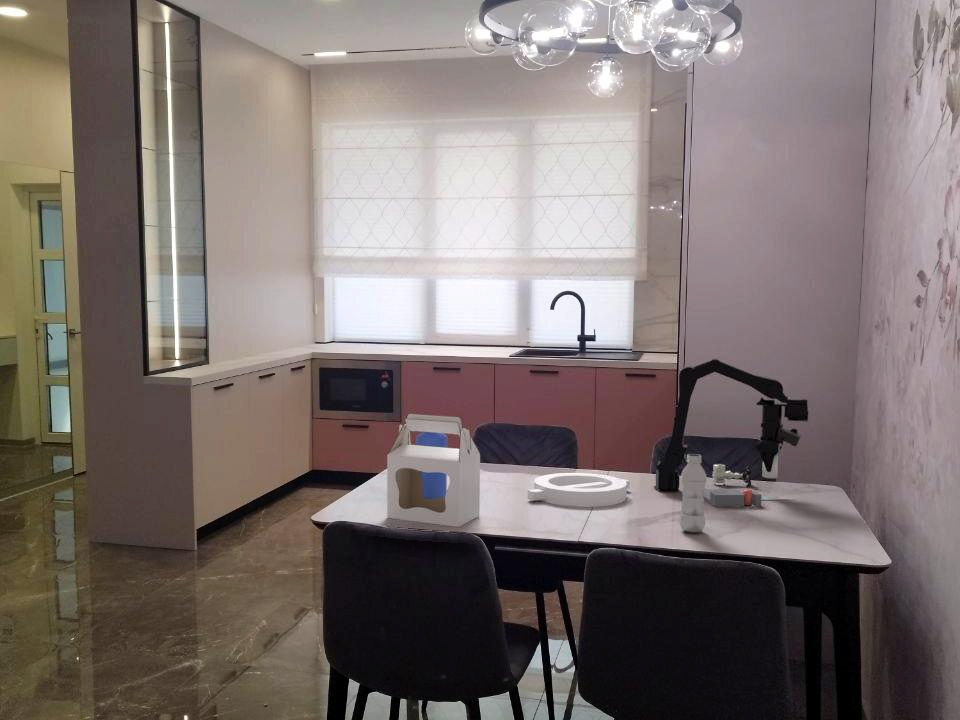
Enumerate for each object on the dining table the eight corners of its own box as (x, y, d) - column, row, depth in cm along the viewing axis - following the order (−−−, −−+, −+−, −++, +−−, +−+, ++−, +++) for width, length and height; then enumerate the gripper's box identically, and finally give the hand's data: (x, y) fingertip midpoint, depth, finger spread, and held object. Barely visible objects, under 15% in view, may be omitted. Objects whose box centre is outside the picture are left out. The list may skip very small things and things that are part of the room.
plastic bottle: (700, 528, 222) (702, 453, 220) (708, 535, 215) (710, 457, 214) (676, 528, 221) (678, 452, 220) (683, 535, 215) (685, 457, 213)
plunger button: (744, 504, 247) (744, 491, 247) (740, 502, 250) (741, 489, 250) (753, 504, 248) (753, 491, 247) (749, 502, 250) (749, 489, 250)
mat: (756, 500, 255) (757, 499, 255) (744, 493, 265) (744, 492, 265) (795, 500, 256) (795, 499, 256) (781, 493, 266) (781, 492, 266)
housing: (714, 506, 246) (715, 495, 246) (692, 492, 265) (692, 481, 265) (761, 506, 247) (761, 494, 247) (735, 492, 267) (735, 481, 266)
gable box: (385, 518, 230) (386, 415, 228) (409, 507, 242) (410, 410, 240) (459, 527, 220) (460, 421, 219) (480, 516, 232) (481, 415, 231)
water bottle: (409, 500, 250) (410, 416, 249) (426, 494, 258) (426, 413, 257) (436, 504, 246) (437, 419, 244) (452, 498, 254) (453, 415, 252)
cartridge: (776, 478, 257) (777, 452, 256) (760, 477, 259) (761, 451, 258) (778, 476, 261) (779, 450, 261) (762, 474, 263) (763, 449, 263)
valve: (713, 486, 275) (751, 488, 273) (713, 466, 275) (752, 468, 273) (711, 482, 281) (748, 484, 280) (711, 462, 281) (748, 464, 279)
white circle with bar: (525, 503, 249) (525, 487, 249) (544, 485, 276) (544, 470, 276) (620, 511, 242) (620, 494, 241) (630, 490, 269) (631, 476, 268)
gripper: (797, 425, 247) (795, 478, 248) (802, 418, 264) (800, 467, 265) (757, 423, 252) (755, 474, 253) (764, 416, 269) (762, 464, 270)
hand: (769, 470), depth 260 cm, fingers closed on cartridge, 4 cm apart
